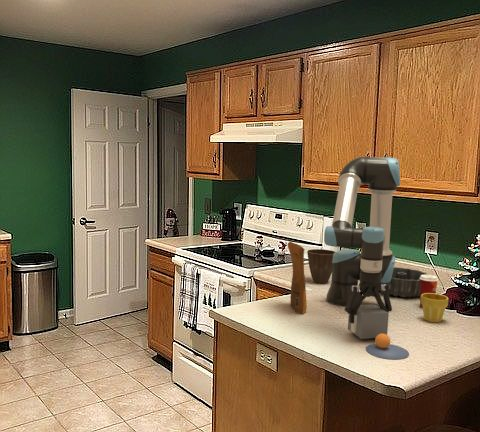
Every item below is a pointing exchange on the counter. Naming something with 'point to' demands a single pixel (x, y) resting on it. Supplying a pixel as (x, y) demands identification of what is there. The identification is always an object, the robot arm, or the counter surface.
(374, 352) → the circle
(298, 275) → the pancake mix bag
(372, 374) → the counter surface
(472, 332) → the counter surface
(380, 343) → the ball
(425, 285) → the paper cup
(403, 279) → the bundt pan
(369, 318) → the grey matte cube
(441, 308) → the plant pot
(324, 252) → the plant pot
